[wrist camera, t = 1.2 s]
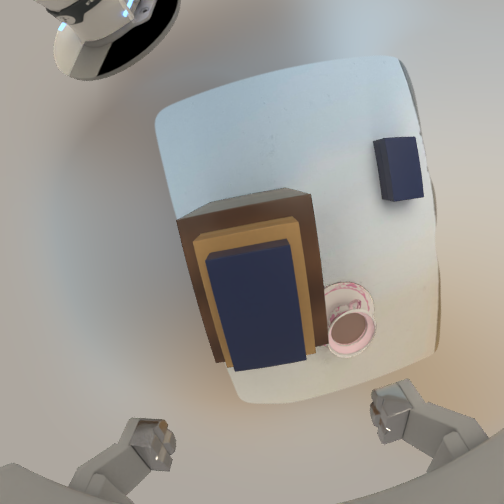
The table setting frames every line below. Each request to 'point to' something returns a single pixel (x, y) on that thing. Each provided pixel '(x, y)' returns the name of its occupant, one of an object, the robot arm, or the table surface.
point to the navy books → (399, 168)
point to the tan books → (251, 236)
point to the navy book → (258, 304)
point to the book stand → (250, 212)
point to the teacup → (349, 318)
